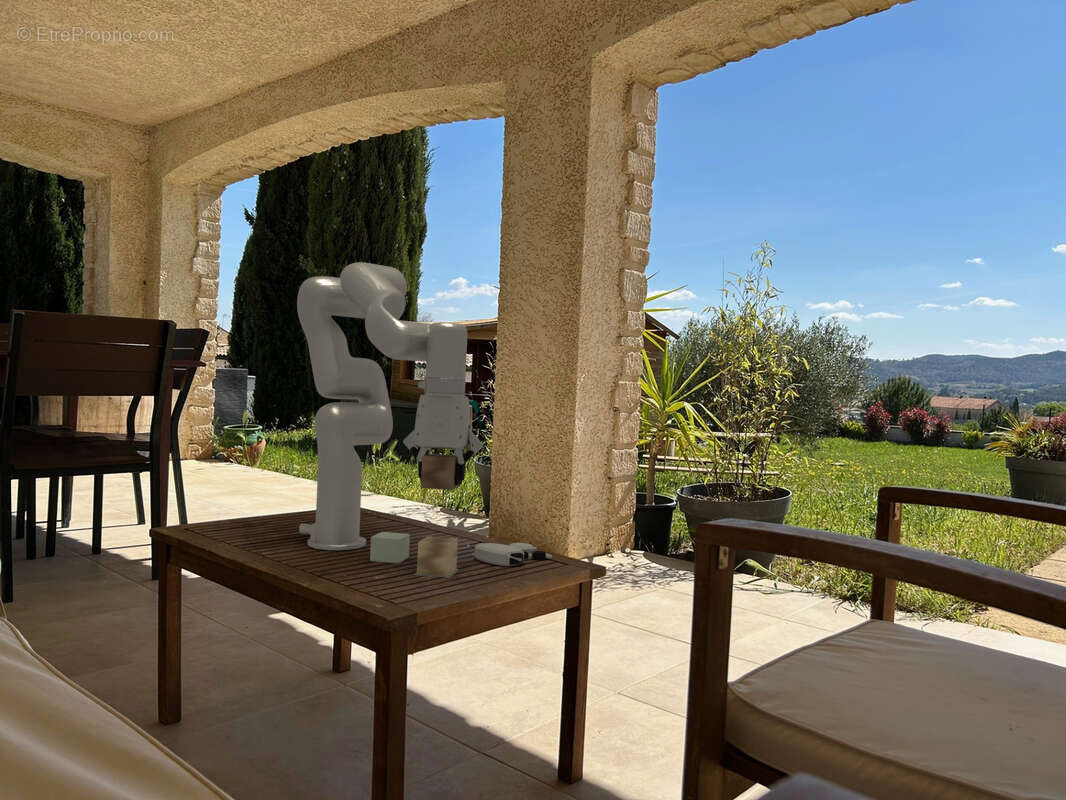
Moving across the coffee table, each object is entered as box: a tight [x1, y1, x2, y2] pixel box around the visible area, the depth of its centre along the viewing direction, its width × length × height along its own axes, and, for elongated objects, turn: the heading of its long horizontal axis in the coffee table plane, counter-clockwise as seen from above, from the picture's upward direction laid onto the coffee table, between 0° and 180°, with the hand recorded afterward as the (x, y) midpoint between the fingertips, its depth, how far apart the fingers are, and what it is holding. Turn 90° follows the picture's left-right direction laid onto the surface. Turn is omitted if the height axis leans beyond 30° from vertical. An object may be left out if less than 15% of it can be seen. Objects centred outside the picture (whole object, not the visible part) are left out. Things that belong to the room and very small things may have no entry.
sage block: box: [369, 531, 411, 564], centre depth 160 cm, size 6×6×6 cm
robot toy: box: [466, 542, 553, 567], centre depth 165 cm, size 12×4×15 cm
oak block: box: [416, 535, 459, 578], centre depth 151 cm, size 6×6×6 cm
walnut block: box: [420, 453, 462, 491], centre depth 151 cm, size 6×6×6 cm
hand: (441, 482), depth 151 cm, fingers closed on walnut block, 6 cm apart
